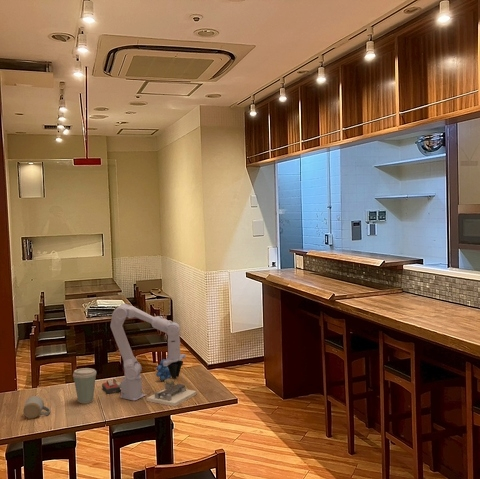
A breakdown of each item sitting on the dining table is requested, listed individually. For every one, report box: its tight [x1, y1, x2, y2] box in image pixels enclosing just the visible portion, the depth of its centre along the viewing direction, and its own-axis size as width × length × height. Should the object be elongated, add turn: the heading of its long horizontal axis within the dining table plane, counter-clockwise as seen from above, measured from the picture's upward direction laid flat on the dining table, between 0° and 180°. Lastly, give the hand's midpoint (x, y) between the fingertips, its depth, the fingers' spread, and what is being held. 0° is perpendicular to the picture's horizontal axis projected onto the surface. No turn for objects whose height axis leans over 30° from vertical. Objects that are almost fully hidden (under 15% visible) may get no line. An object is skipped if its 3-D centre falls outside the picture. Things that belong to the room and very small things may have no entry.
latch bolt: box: [163, 378, 176, 384], centre depth 248 cm, size 4×3×1 cm
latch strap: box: [159, 383, 186, 397], centre depth 240 cm, size 15×4×1 cm, turn 150°
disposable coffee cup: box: [72, 367, 97, 405], centre depth 239 cm, size 11×11×15 cm
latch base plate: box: [146, 382, 198, 407], centre depth 240 cm, size 16×17×4 cm
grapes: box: [155, 357, 172, 381], centre depth 266 cm, size 12×7×12 cm, turn 114°
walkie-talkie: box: [101, 378, 121, 395], centre depth 257 cm, size 9×4×20 cm
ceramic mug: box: [23, 395, 51, 419], centre depth 224 cm, size 11×8×8 cm
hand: (175, 377), depth 242 cm, fingers closed
